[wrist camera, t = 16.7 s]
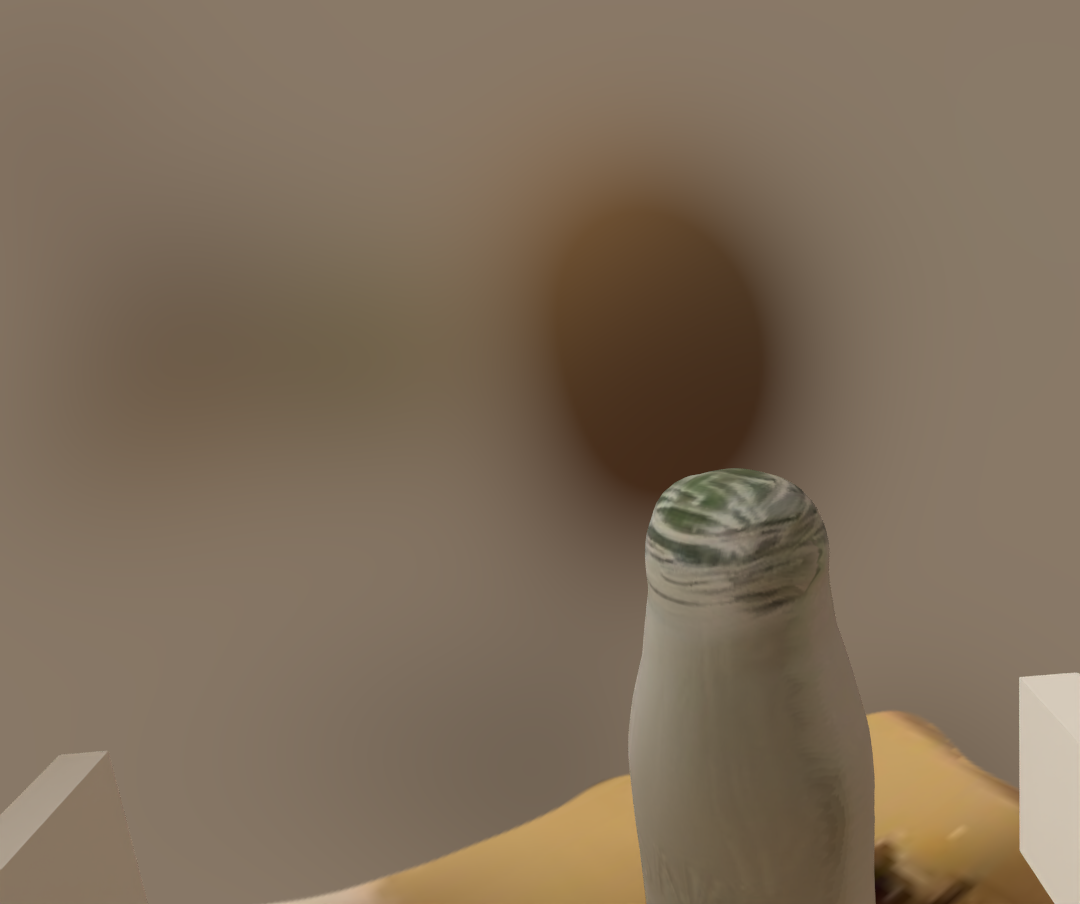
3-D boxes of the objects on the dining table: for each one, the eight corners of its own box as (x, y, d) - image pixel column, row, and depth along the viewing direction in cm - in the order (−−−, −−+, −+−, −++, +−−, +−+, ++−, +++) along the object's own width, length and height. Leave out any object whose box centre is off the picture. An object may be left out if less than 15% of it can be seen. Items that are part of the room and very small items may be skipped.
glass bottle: (622, 1048, 46) (553, 494, 39) (744, 925, 52) (703, 434, 46) (805, 1180, 39) (758, 530, 32) (919, 1019, 45) (901, 453, 39)
